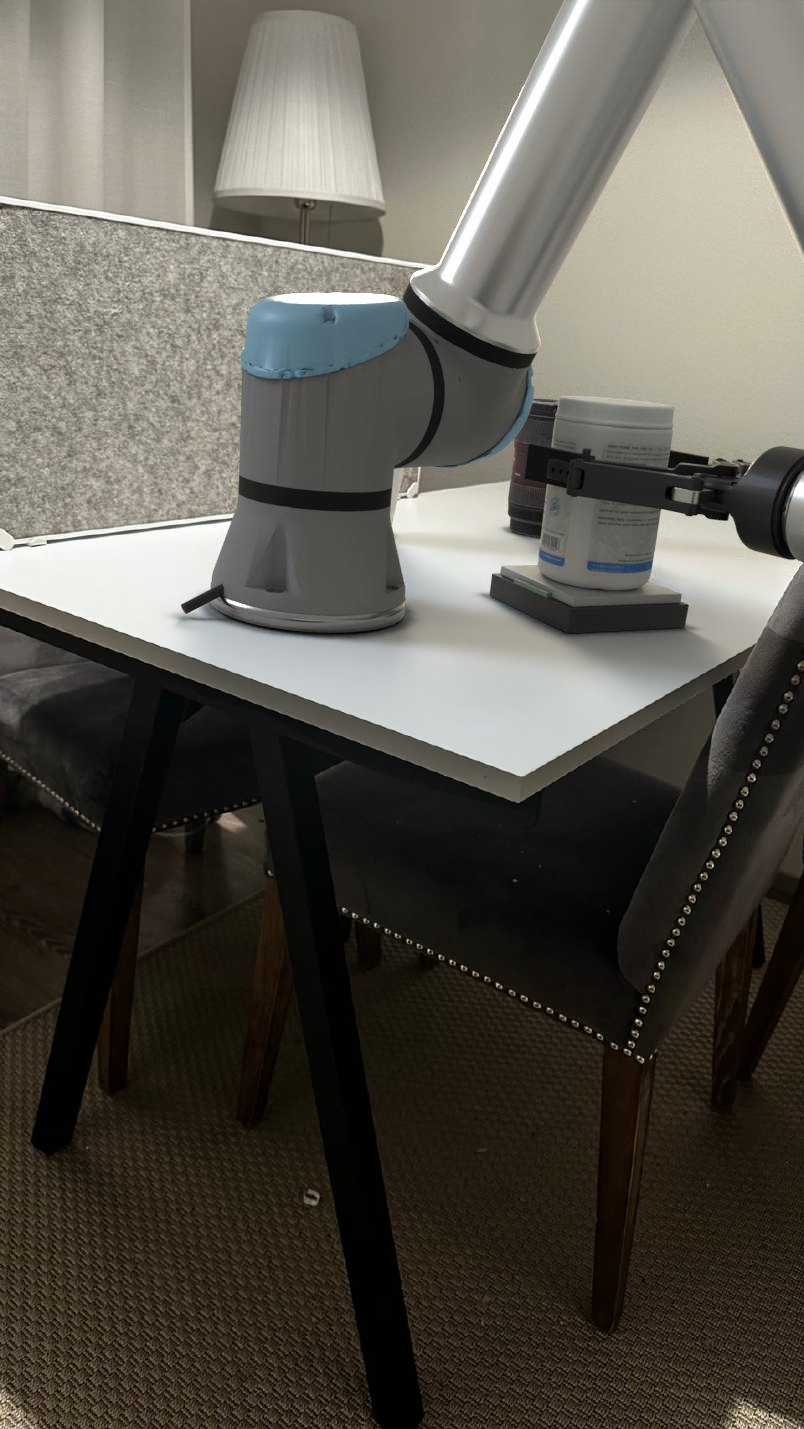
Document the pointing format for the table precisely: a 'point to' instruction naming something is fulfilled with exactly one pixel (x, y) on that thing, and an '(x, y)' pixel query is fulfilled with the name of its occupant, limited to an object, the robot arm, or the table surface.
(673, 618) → the scale
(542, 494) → the camera lens
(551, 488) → the supplement tub
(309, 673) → the table surface
